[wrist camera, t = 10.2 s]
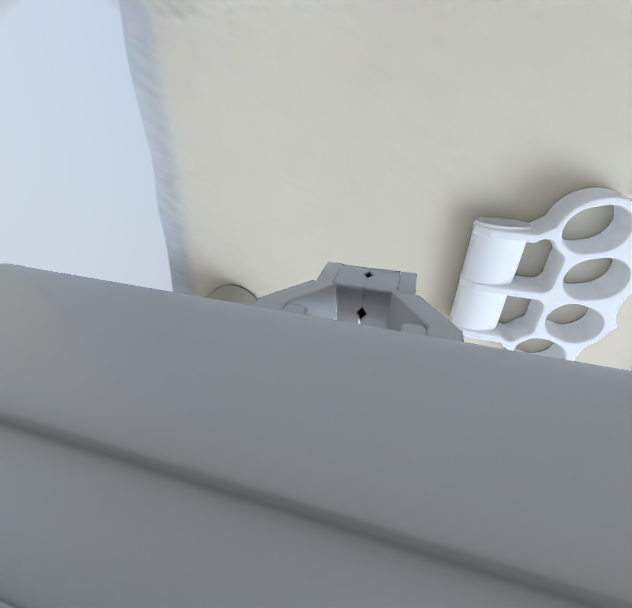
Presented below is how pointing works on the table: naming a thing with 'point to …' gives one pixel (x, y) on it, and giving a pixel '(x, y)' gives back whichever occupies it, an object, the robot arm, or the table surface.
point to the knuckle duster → (545, 277)
